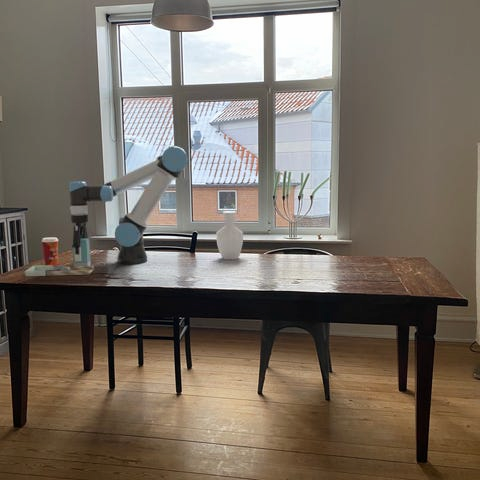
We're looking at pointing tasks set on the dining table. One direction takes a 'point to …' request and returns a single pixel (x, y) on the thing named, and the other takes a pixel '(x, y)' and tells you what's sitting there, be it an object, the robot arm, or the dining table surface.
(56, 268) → the chip
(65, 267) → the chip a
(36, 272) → the tray
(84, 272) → the slot board
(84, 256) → the teal tall block
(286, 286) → the dining table surface
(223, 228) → the vase
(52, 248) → the paper cup
